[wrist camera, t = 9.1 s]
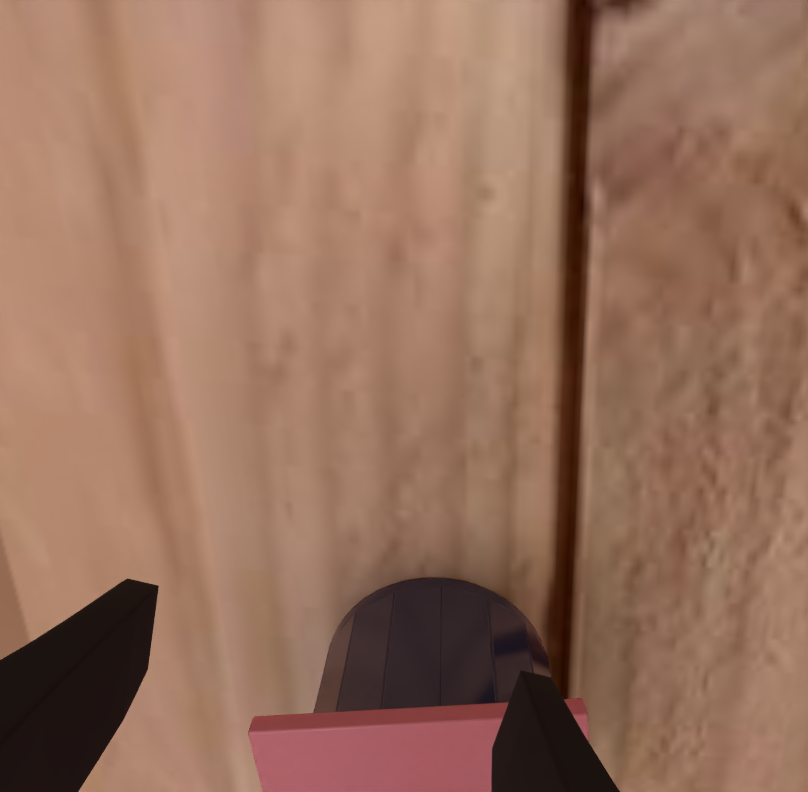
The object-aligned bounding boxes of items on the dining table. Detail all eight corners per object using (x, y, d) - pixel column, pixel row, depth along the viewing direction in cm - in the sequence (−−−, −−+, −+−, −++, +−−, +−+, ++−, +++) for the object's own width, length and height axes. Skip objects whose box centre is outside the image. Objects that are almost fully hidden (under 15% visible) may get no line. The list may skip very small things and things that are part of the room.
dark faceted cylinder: (512, 775, 27) (532, 953, 21) (310, 730, 27) (270, 896, 21) (576, 606, 24) (620, 755, 18) (350, 554, 24) (318, 687, 18)
